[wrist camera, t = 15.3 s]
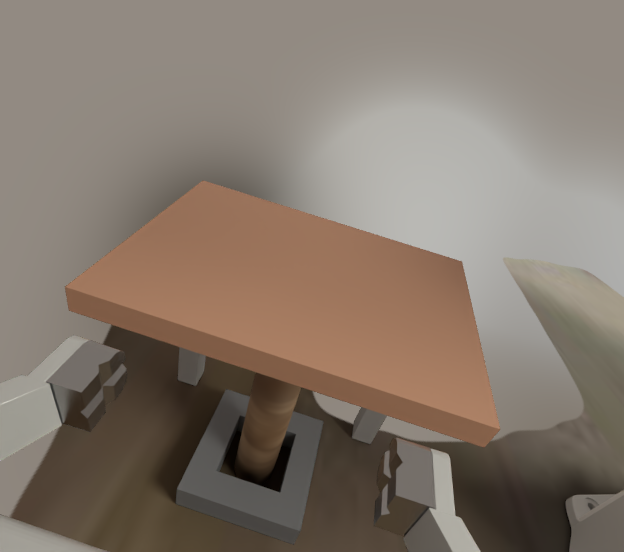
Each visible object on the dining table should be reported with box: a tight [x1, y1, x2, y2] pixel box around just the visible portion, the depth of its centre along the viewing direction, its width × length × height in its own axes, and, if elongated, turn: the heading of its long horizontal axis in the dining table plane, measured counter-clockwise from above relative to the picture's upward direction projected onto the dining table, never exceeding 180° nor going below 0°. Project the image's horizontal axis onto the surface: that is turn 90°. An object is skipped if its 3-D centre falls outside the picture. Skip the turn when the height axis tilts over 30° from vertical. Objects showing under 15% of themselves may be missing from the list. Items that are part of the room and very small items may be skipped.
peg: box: [234, 372, 301, 485], centre depth 32 cm, size 4×4×12 cm
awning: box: [65, 181, 500, 545], centre depth 30 cm, size 15×21×22 cm
